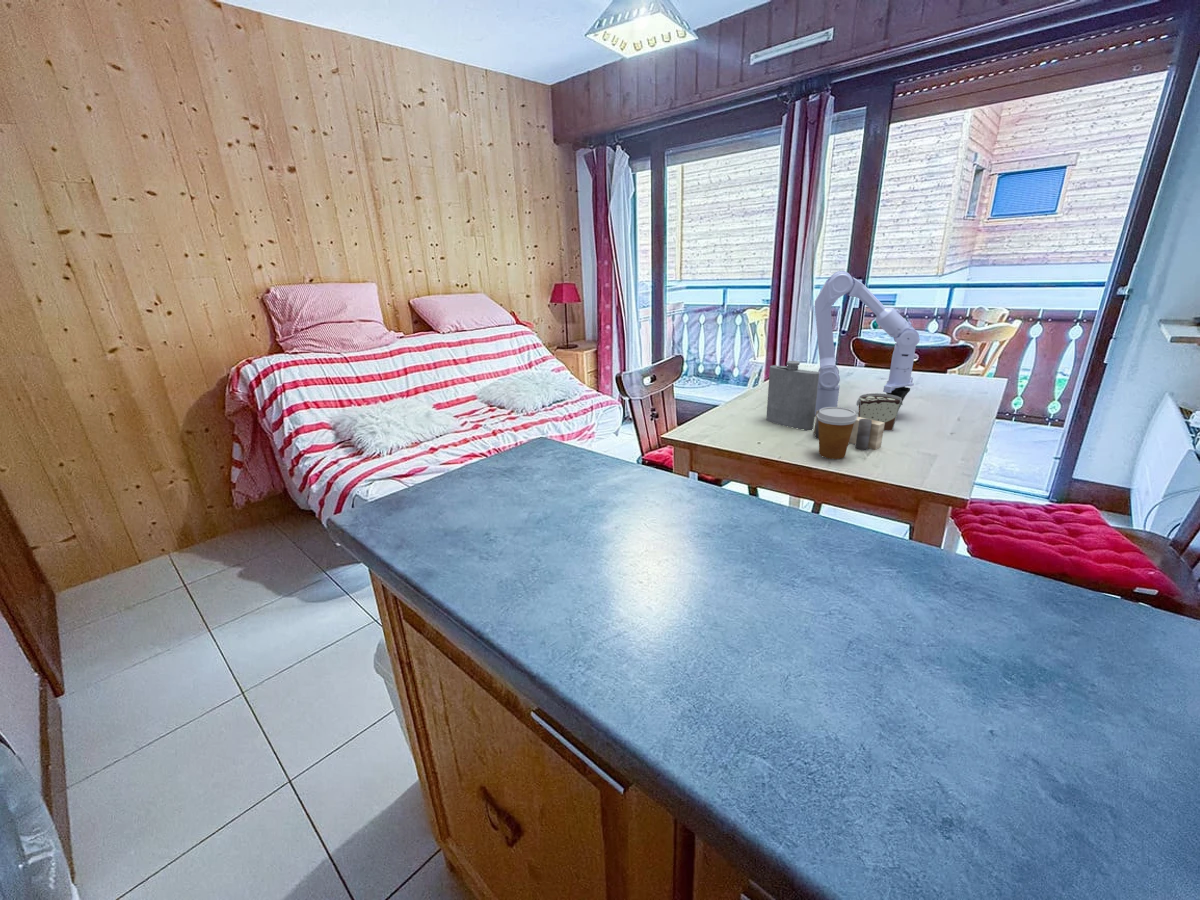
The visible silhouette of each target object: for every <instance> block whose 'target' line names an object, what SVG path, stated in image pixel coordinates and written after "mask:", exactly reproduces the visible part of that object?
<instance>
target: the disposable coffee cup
mask: <svg viewBox="0 0 1200 900" xmlns="http://www.w3.org/2000/svg"><path fill="white" fill-rule="evenodd" d="M856 416H857V413H856V411H855V410H853V409H850V408H846V407H840V406H837V407H826V408H822V409H820V410H819V413H818V414H817V418H818V428H819V439H818V454H819V456H821V457H822V456H823V458H825V457H826V459H829V458H830V459H831V460H840V458H841V459H844V458H845V457H846V453H847V450H848V446H849V444H850V443H849V440H850V436H851V433H852V429H853V426H854V423H855V422H856V420H857V417H858V416H857V417H856Z"/></svg>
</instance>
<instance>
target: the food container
mask: <svg viewBox="0 0 1200 900" xmlns="http://www.w3.org/2000/svg"><path fill="white" fill-rule="evenodd" d="M900 404H901V406H903V402H902V398H901V397H898V396H895V395H890V394H887V393H878V392H877V393H876V392H875V393H872V392H871V393H865V394H861V395H860V396H859V397H858V398H857V400H856V403H855V405H856V406H857V407H858V415H857V417H862V418H866V419H871V420H875V421H880V422H885V425H884V431H883V432H893V431H894V427H895V424H896V420H897V416H898V413H899V410H900V408H901V406H900ZM899 407H900V408H899Z"/></svg>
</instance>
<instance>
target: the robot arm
mask: <svg viewBox="0 0 1200 900" xmlns="http://www.w3.org/2000/svg"><path fill="white" fill-rule="evenodd" d="M844 295H847V296H849V297H854V298H858V300H860V302H862V303H863V304H864V305H865V306H866V307H867V308H868V310H870V311H872V313H874V314H875V315H876V319H875V322H876V324H877V325H878V326H879V327H881V329H882V330H883V331H884V332H885V333H887V335H888V336H889V337H891V338H893V340H894V342H895V343H894V349H893V352H892V356H891V363H890V368H889V369H890V370H889V374H888V375H889V376H888V380H887V381H886V384H885V385H884V386H883V391H882V392H884V393H885V394H890V395H895V396H898V397H901V398H902V403H903V402H904V400H905V398H906V396H907V395H908V393H909V392H910V391H911V388H910V387H913V386H914V385H915V383H914V377H912V373H913V368H914V367H913V366H914V360H915V356H916V353H915V352H916V348H917V347H916V346H917V345H918V344H919V342H920V341H921V338H920V334H919V332H918V331H917V330H916V329H915V328H914V326H913V325H912V324H913V323H912V322H911V321H907V320H906V319H905V317H903V316H902V315H901V313H902V312H901V310H900V309H898V308H896V309H895V308H894V307H886V306H884V304H883V303H882V302H881V301H880V300H879V299H878V298H877V297H876V296H875V295H874V294H873V292H871V290H869V288H868V287H867V286H866V285H865V284H863V282H861V281H860V280H858V279H857V278H855V277H854V276H852V275H851V274H850V273H849V272H848V271H845V270H839V271H838V270H837V271H835V272H834V273H833V274H832V275H830V276H829V277H828V279H827V280H826V281H825V282H824V284H823V286H822V288H821V289H820V292H819V293H818V295H817V296H816V299H815V300H814V313H815V323H816V335H817V346H818V355H819V356H818V357H819V368H818V371H817V372H819V380H818V389H817V399H816V408H815V416H816V411H818V410H820V409H822V408H826V407H838V402H839V396H840V395H839V394H840V385H839V383H840V382H841V376H840V371H839V368H838V366H837V364H836V357H835V356H836V355H835V344H834V343H835V342H834V330H833V320H832V319H833V318H832V306H833V305H834V304H835V303H836V302H837V301H838V299H840V298H841V297H843V296H844ZM901 407H902V405H901V404H900V407H899V409H900V408H901Z"/></svg>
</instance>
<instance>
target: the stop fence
mask: <svg viewBox="0 0 1200 900" xmlns="http://www.w3.org/2000/svg"><path fill="white" fill-rule="evenodd" d="M818 413H819V410H818V411H816V415H815V418H814V427H813V434H814V433H815V434H814V438H815V439H817V438H818V439H817V440H819V428H818V418H817V414H818ZM856 417H857V420H856V422H855V423H854V426H853V429H852V433H851V436H850V440H849V443H848V444H851V443H852V445H855V444H856V445H855V449H856V450H858V451H867V450H868V449H871V450H874V451H875V450H877V449H879V448H881V447H882V443H883V442H882V441H883V436H884V432H885V431H884V425H885V422H880V421H875V420H871V419H866V418H862V417H858V415H856Z"/></svg>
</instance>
